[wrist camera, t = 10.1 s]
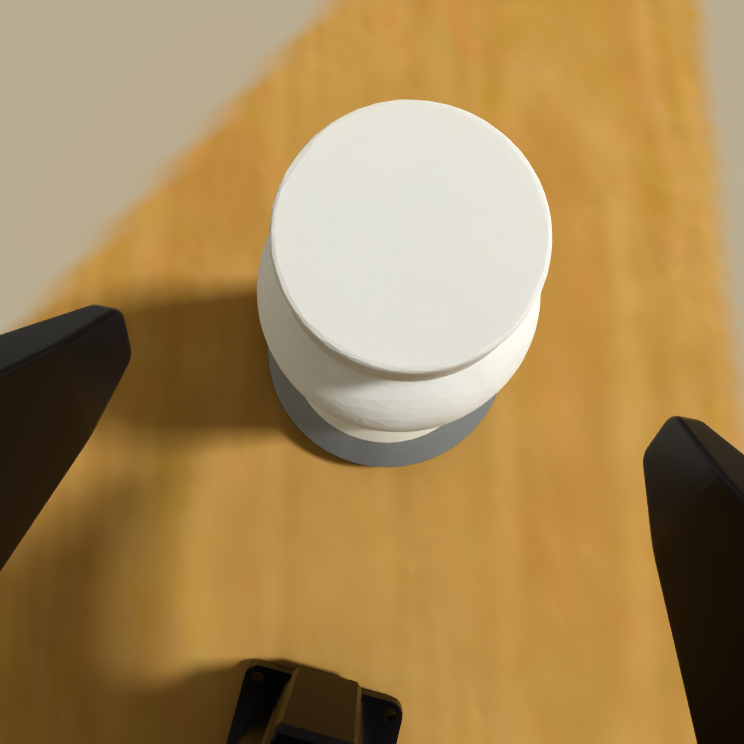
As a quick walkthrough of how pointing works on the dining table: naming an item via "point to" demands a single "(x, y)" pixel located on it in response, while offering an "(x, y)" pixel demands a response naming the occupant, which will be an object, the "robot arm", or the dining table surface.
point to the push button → (369, 431)
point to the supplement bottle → (404, 265)
